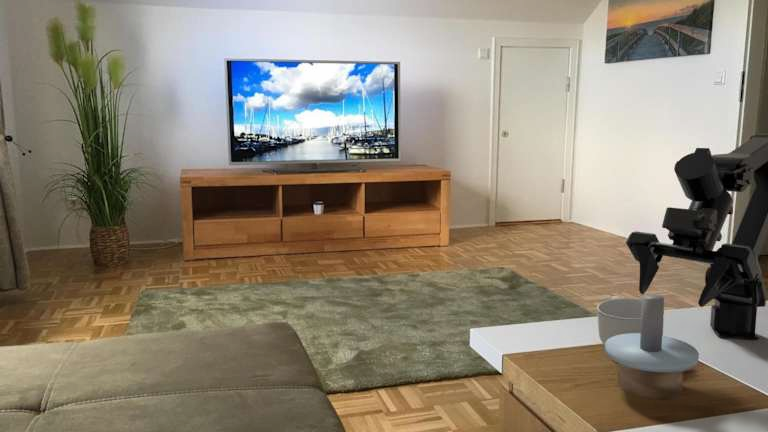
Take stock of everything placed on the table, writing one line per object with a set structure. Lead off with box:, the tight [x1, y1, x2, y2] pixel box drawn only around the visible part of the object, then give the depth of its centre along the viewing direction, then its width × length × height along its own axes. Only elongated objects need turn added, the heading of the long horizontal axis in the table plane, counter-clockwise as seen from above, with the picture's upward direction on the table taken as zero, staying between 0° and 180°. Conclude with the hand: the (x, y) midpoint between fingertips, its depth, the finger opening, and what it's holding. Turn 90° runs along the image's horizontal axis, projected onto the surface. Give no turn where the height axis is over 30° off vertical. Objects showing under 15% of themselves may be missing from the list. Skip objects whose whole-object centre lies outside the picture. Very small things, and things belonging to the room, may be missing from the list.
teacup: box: [596, 295, 665, 346], centre depth 112 cm, size 14×11×8 cm
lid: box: [604, 293, 699, 372], centre depth 95 cm, size 13×13×9 cm
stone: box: [617, 363, 684, 400], centre depth 97 cm, size 9×9×5 cm
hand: (669, 298), depth 98 cm, fingers open, 9 cm apart
